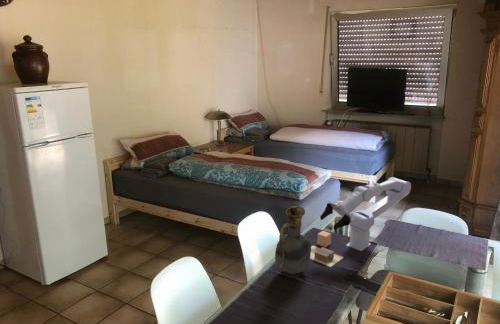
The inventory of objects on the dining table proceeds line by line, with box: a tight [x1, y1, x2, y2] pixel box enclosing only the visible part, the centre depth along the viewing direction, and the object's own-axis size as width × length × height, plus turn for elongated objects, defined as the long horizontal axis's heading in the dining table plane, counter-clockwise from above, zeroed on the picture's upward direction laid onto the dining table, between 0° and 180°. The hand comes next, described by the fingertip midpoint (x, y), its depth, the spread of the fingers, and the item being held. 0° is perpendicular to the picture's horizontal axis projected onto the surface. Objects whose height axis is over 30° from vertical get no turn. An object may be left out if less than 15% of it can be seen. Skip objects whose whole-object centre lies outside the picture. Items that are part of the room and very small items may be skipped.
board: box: [310, 245, 344, 268], centre depth 178 cm, size 11×16×1 cm
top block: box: [316, 230, 332, 248], centre depth 187 cm, size 4×4×6 cm
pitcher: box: [274, 205, 312, 279], centre depth 159 cm, size 11×19×30 cm, turn 146°
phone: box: [342, 272, 383, 295], centre depth 157 cm, size 8×1×15 cm
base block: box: [314, 246, 335, 263], centre depth 175 cm, size 6×6×3 cm
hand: (327, 223), depth 172 cm, fingers open, 7 cm apart
